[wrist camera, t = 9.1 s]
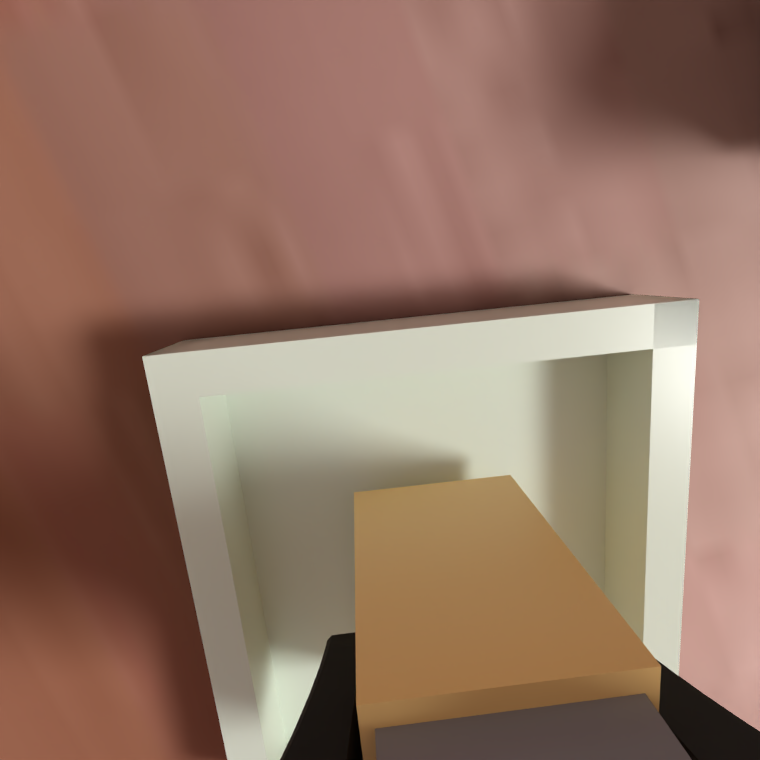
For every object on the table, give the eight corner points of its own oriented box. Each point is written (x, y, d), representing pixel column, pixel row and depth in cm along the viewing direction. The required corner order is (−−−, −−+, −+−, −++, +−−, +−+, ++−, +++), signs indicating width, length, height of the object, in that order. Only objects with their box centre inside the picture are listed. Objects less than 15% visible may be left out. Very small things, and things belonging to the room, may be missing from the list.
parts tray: (264, 764, 15) (247, 856, 13) (183, 340, 12) (142, 356, 10) (622, 715, 16) (671, 796, 13) (632, 294, 13) (699, 298, 10)
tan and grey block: (376, 688, 13) (402, 1133, 6) (353, 492, 12) (356, 788, 5) (516, 670, 13) (689, 1085, 7) (510, 474, 12) (718, 739, 5)
